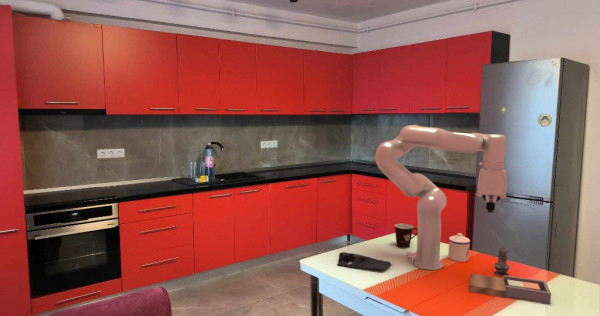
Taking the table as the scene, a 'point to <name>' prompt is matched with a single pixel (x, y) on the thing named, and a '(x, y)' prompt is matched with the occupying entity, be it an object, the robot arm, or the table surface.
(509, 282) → the cream white block
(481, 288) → the board
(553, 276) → the table surface
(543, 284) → the box
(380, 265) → the dark slate chunk
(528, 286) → the salmon orange block
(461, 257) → the teacup with lid
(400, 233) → the coffee mug
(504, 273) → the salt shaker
